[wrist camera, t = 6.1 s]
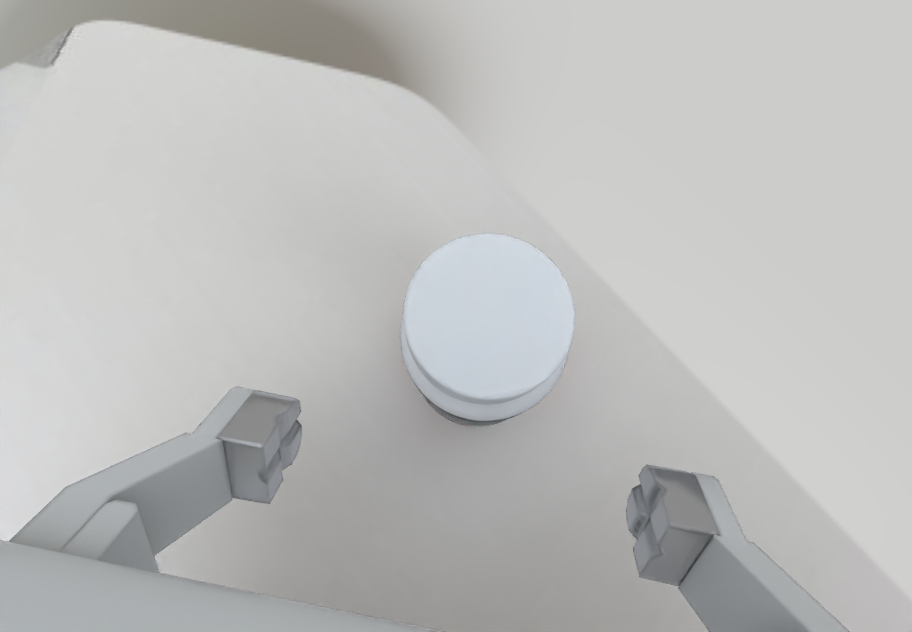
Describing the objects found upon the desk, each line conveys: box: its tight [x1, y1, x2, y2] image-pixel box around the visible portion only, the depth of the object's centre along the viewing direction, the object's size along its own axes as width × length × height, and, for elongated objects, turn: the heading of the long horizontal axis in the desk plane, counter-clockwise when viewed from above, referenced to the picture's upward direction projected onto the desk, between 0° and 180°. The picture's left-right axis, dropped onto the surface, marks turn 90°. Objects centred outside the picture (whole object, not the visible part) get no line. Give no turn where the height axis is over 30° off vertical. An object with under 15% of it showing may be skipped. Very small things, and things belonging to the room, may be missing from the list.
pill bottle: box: [401, 233, 575, 427], centre depth 15 cm, size 5×5×8 cm
